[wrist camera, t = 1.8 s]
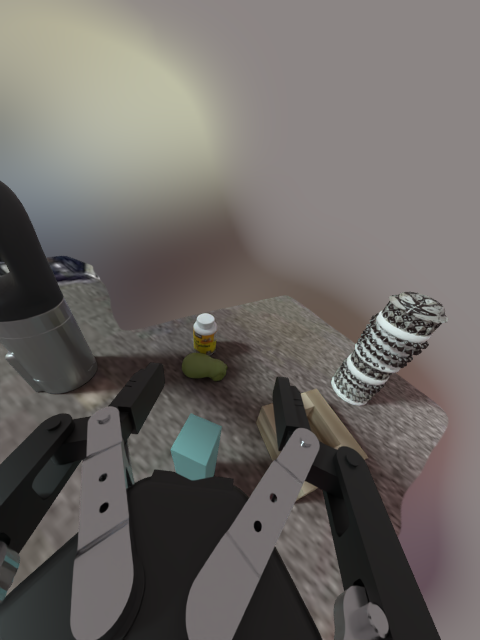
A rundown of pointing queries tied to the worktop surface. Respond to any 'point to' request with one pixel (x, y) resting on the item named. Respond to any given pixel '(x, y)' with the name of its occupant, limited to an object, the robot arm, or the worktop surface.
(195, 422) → the peg
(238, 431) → the worktop surface
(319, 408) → the socket block
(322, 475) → the robot arm
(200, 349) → the supplement bottle
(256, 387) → the worktop surface
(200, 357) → the pear
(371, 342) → the decorative candle
